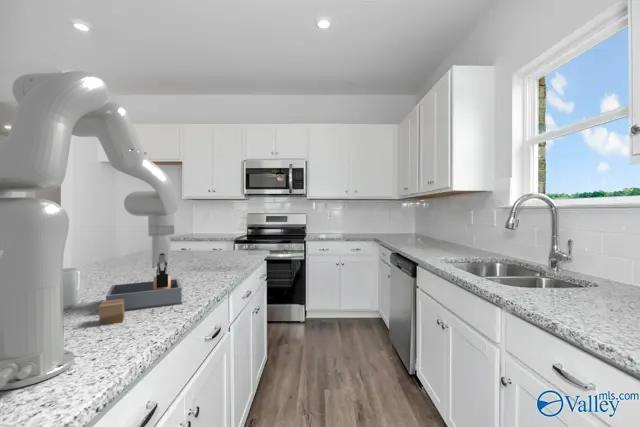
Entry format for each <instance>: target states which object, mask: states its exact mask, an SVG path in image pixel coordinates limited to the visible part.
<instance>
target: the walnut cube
mask: <svg viewBox="0 0 640 427" xmlns="http://www.w3.org/2000/svg"><path fill="white" fill-rule="evenodd" d="M98 308H99V309H98V310H99V311H98V312H99V314H98V317H99V318H98V319H99V324H98V325H99V327H100V326H101V325H102V326H107V325H108V324H109V325H115V324H114V323H116V324H122V323H124V320H125V311H124V299H119V300H111V301H106V300H104V301H101V302H100V305H99V306H98ZM109 325H108V326H109Z"/></svg>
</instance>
